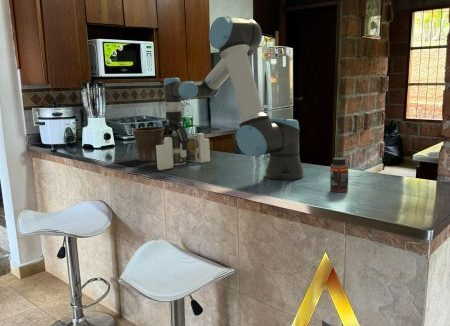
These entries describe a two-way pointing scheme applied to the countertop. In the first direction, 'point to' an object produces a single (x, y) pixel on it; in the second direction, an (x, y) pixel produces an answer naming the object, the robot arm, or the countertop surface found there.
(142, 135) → the plant pot
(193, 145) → the door
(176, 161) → the coffee can
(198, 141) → the door frame
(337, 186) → the supplement bottle
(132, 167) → the countertop surface
